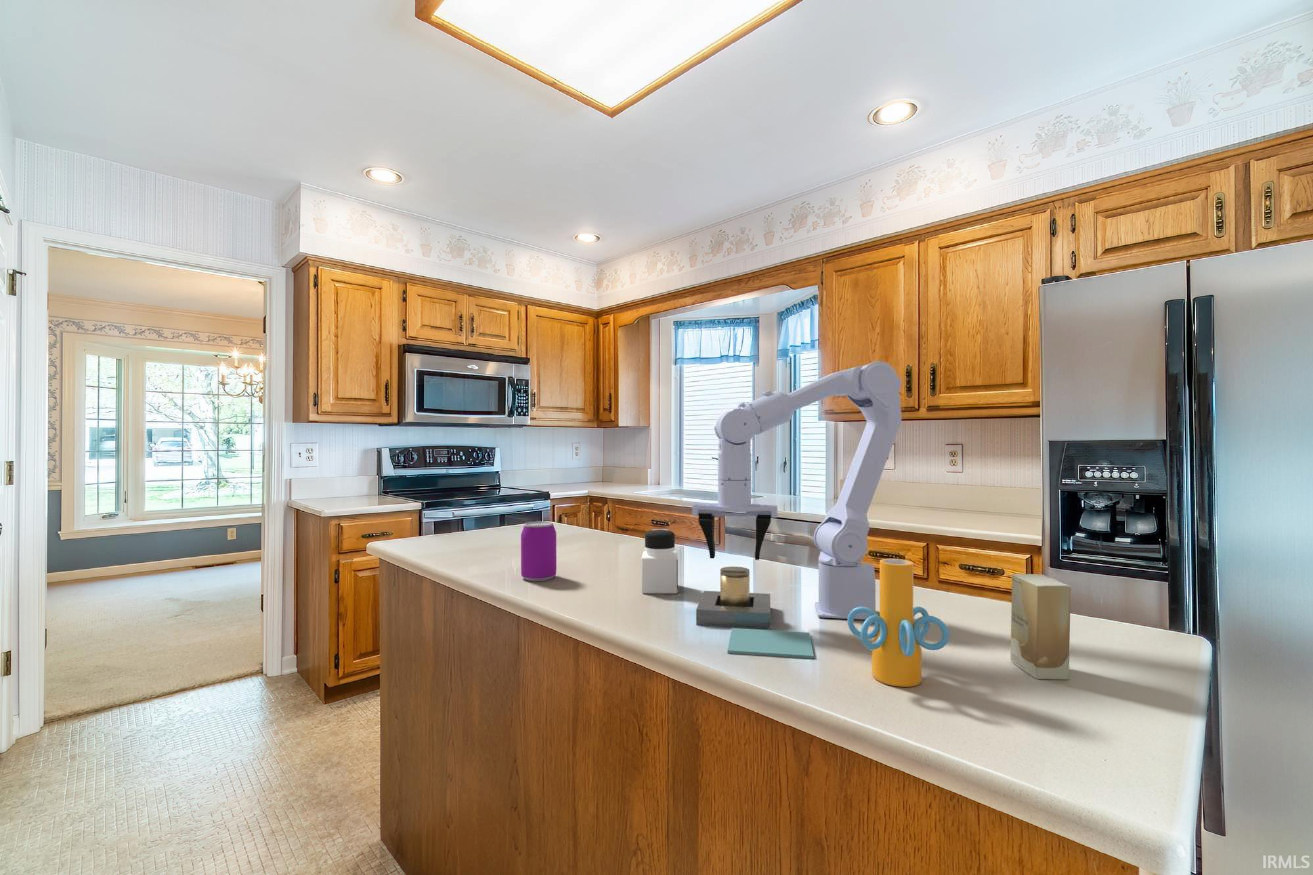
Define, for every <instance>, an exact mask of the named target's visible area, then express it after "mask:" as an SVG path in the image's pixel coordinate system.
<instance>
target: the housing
mask: <svg viewBox="0 0 1313 875" xmlns="http://www.w3.org/2000/svg"><path fill="white" fill-rule="evenodd" d="M695 615H696V617H695V619H696V620H695V624H696V625H698V626H713V627H714V626H716V627H729V628H730V627H731V628H747V629H764V630H770V629H771V593H760V592H750V607H734V606H720V591H719V590H703V593H702V595H701V597H700V599H699V601H698V604H697V607H696V610H695Z"/></svg>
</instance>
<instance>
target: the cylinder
mask: <svg viewBox="0 0 1313 875" xmlns="http://www.w3.org/2000/svg"><path fill="white" fill-rule="evenodd" d="M858 613H867V614H869V615H870V617H868V618H867V619H866V620H864V622H863V623H862V626H861V628H860V630H858V629H857V627H856V626H855V623H854V620H855V619H854V617H855V616H856V615H857V614H858ZM918 614H921V616H920V617H918V618H917V619H915V621H914V617H915V616H916V615H918ZM873 623H874V627H873V629H872V630H871V631H870V632H868V631H869V628H870V626H871V625H872V624H873ZM930 623H932V624H935V625H937V626H938V628H939V629H940V630H941V639H940V640H939V641H938V642H936V643H935V642H934V643H931V642H930V643H929V642H927V641H925V640H924V639H923V638H924V637H925V636H926V635H927V633H928V631H929V629H930ZM847 625H848V629H849V630H850V632H851V634H853V635H854V636H855V637H856V638H859V639H860V640H861V642H862V644H863V646H864V647H865V648H866V649H868V650H870V651H871V674H872V677H873V678H874V679H875V680H876V681H878V682H880V683H883V684H886V685H889V686H893V687H901V688H905V687H906V688H909V687H910V688H911V687H915V686H918V685H920V684H921V682H922V681H923V667H922V666H923V665H922V664H923V659H922V658H923V652H922V648H924V649H926V650H929V651H938V650H941V649H943V648H944V647H945V646H946V645H947V644H948V642H949V640H950V632H949V629H948V626H947V625H946V623H945V622H944V621H943V620H942V619H940V618H938V617H936V616H934V615H930V614H929V612H928V611H927V610H926V608H924V607H922V606H915V607H914V562H913V561H910V560H907V559H901V558H882V559H879V615H878V614H877V612H876V613H875V612H874V611H873V610H872V609H870V608H867V607H856V608H854V609H853V610H852V611H851V612H850V613H849V615H848V619H847ZM920 627H921V628H920ZM919 629H920V630H919ZM872 639H873V640H872ZM870 640H872V642H870Z"/></svg>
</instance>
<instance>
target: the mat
mask: <svg viewBox="0 0 1313 875" xmlns="http://www.w3.org/2000/svg"><path fill="white" fill-rule="evenodd" d="M727 654H734V655H735V654H736V655H738V654H739V655H749V656H750V655H751V656H752V655H754V656H764V657H765V656H766V657H779V658H781V657H784V658H797V659H811V660H812V659H814V658H815V655H814V652H813V645H812V639H811V634H810V632H807V631H790V630H789V631H788V630H787V631H786V630H775V629H774V630H772V629H771V630H770V629H757V628H740V627H731V631H730V637H729V642H728V646H727Z"/></svg>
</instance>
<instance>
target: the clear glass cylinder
mask: <svg viewBox="0 0 1313 875" xmlns="http://www.w3.org/2000/svg"><path fill="white" fill-rule="evenodd" d="M719 570H720V572H719V573H720V576H719V577H720V578H719V579H720V580H719V581H720V582H719V583H720V588H719V590H720V606H734V607H750V593H751V592H750V588H751V587H750V572H751V571H750V569H749V568H747V567H742V566H724V567H721V568H720V569H719Z"/></svg>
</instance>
